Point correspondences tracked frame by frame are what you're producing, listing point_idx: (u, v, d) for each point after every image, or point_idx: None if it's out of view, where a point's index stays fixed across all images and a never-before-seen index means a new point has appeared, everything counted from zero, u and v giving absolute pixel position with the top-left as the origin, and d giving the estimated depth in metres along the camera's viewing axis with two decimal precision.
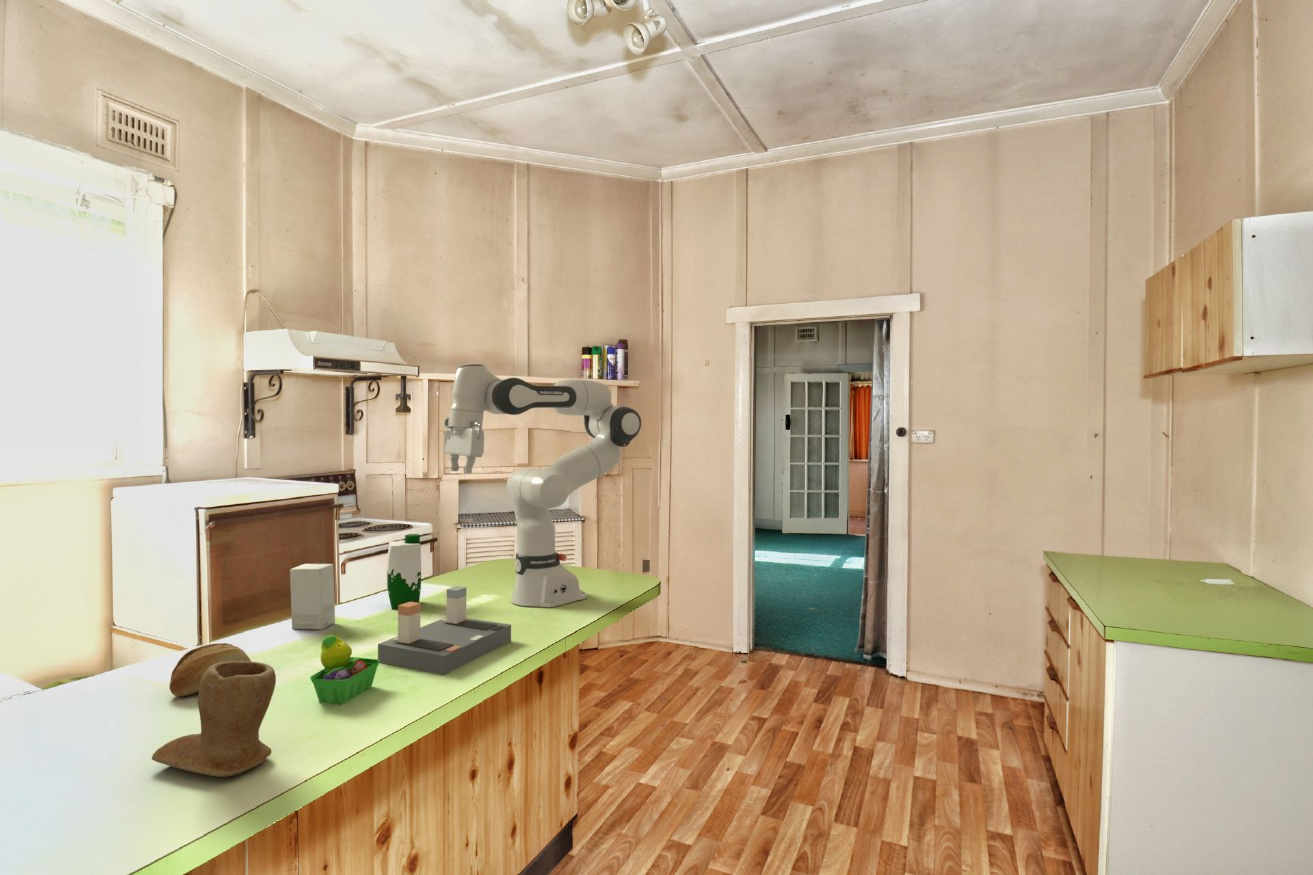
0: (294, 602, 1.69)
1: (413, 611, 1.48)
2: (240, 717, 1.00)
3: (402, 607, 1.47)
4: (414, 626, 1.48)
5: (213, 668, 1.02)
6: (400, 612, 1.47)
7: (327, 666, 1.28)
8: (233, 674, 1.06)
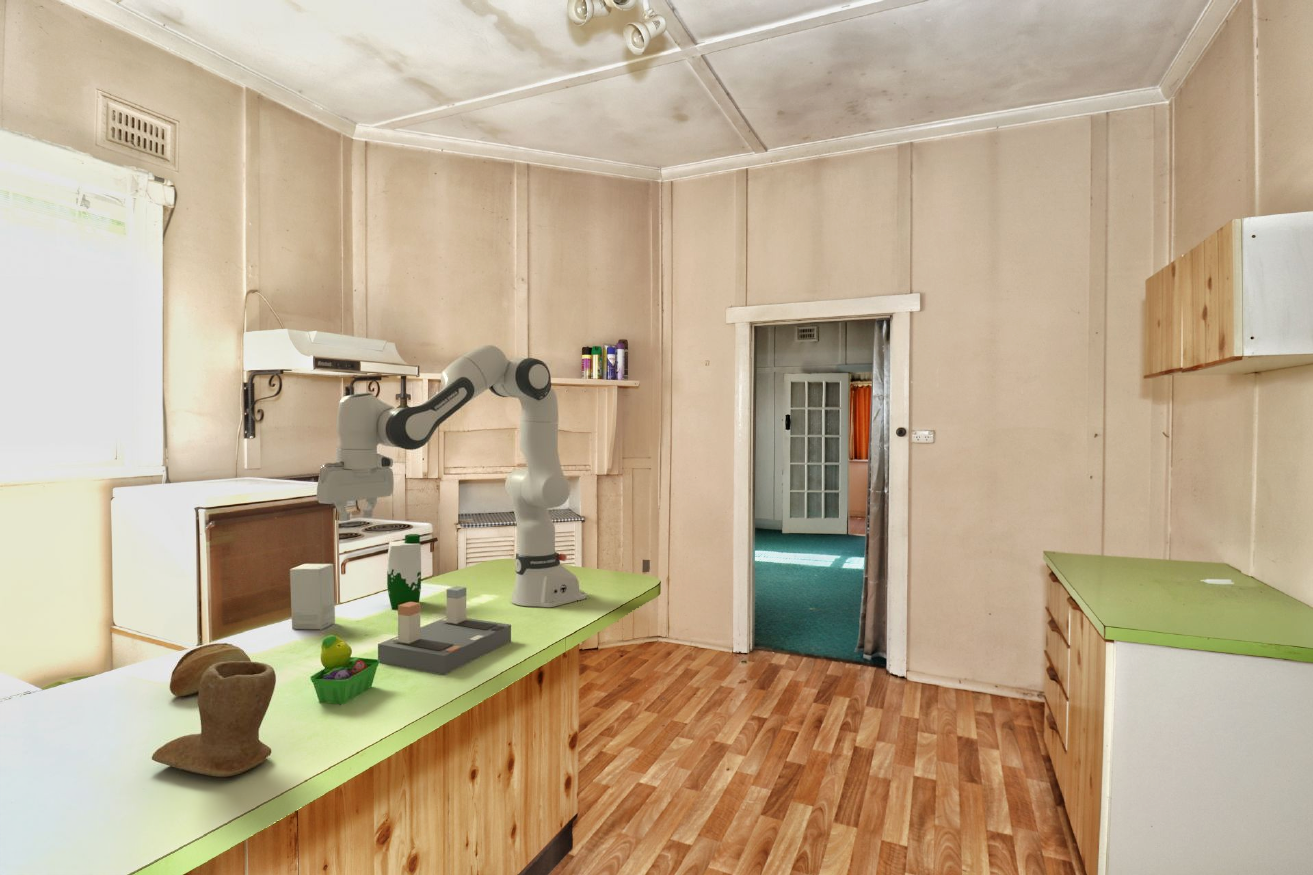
0: (294, 602, 1.69)
1: (413, 611, 1.48)
2: (240, 717, 1.00)
3: (402, 607, 1.47)
4: (414, 626, 1.48)
5: (213, 668, 1.02)
6: (400, 612, 1.47)
7: (327, 666, 1.28)
8: (233, 674, 1.06)
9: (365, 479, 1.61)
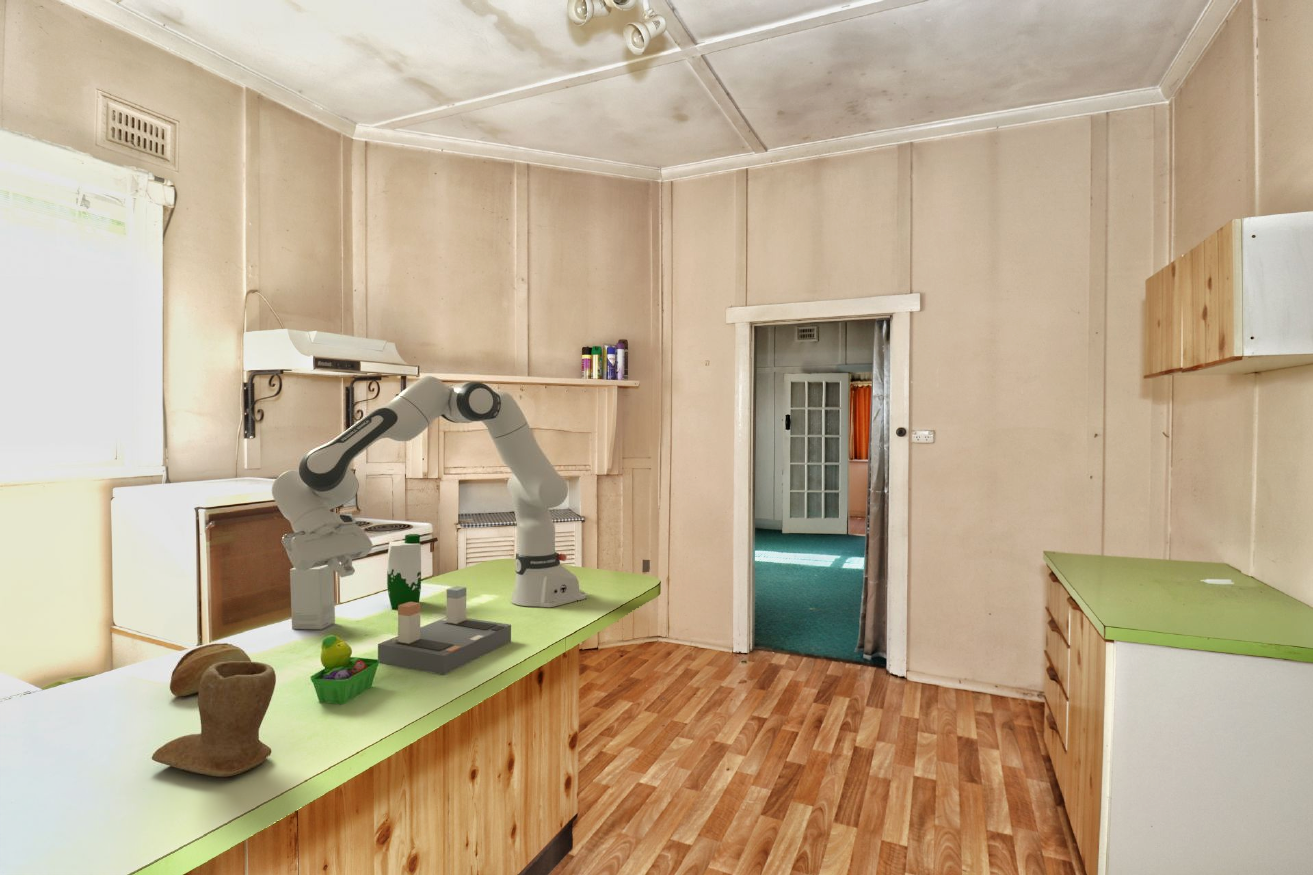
0: (294, 602, 1.69)
1: (413, 611, 1.48)
2: (240, 717, 1.00)
3: (402, 607, 1.47)
4: (414, 626, 1.48)
5: (213, 668, 1.02)
6: (400, 612, 1.47)
7: (327, 666, 1.28)
8: (233, 674, 1.06)
9: (335, 538, 1.58)
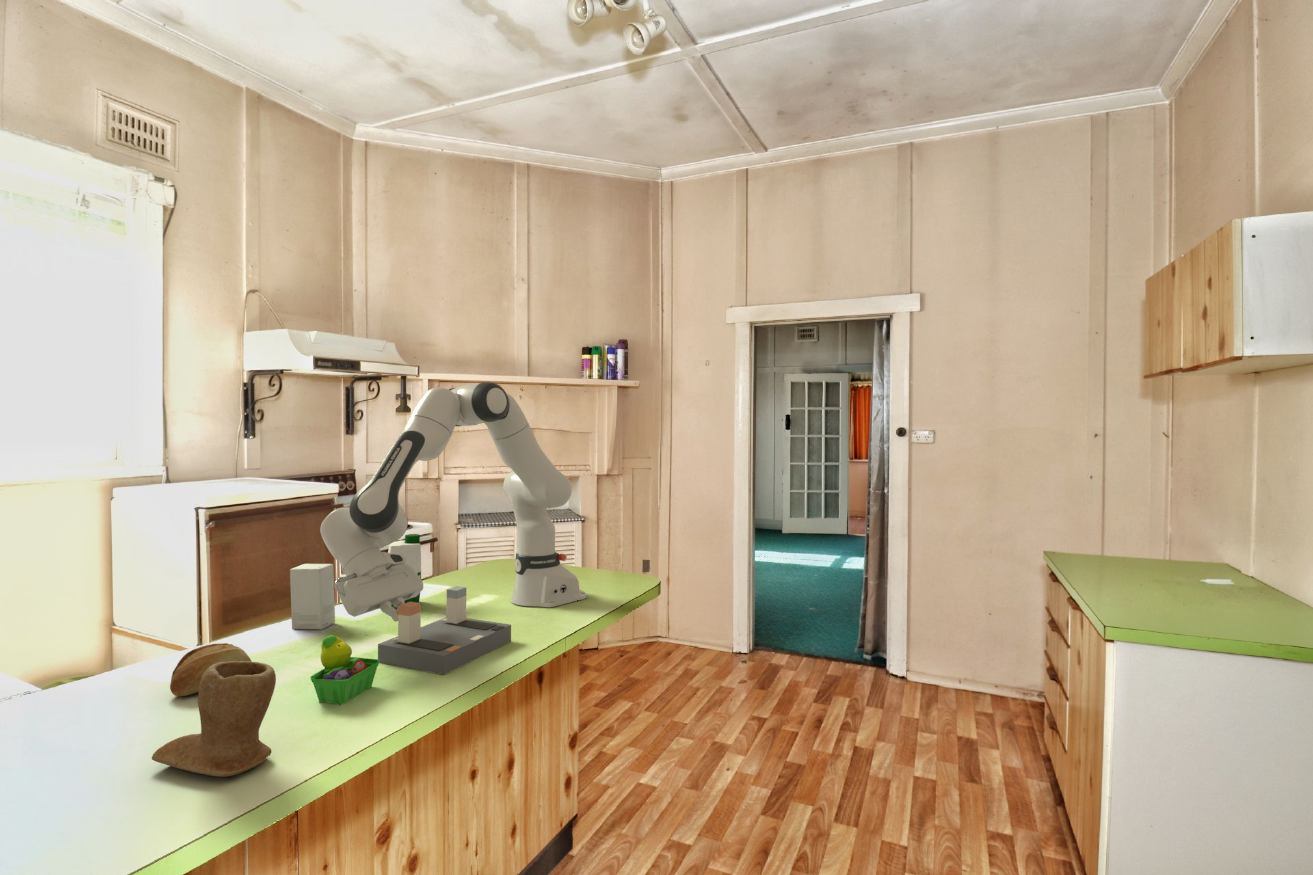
0: (294, 602, 1.69)
1: (414, 611, 1.48)
2: (240, 717, 1.00)
3: (402, 607, 1.47)
4: (414, 626, 1.48)
5: (213, 668, 1.02)
6: (400, 612, 1.47)
7: (327, 666, 1.28)
8: (233, 674, 1.06)
9: (387, 580, 1.53)
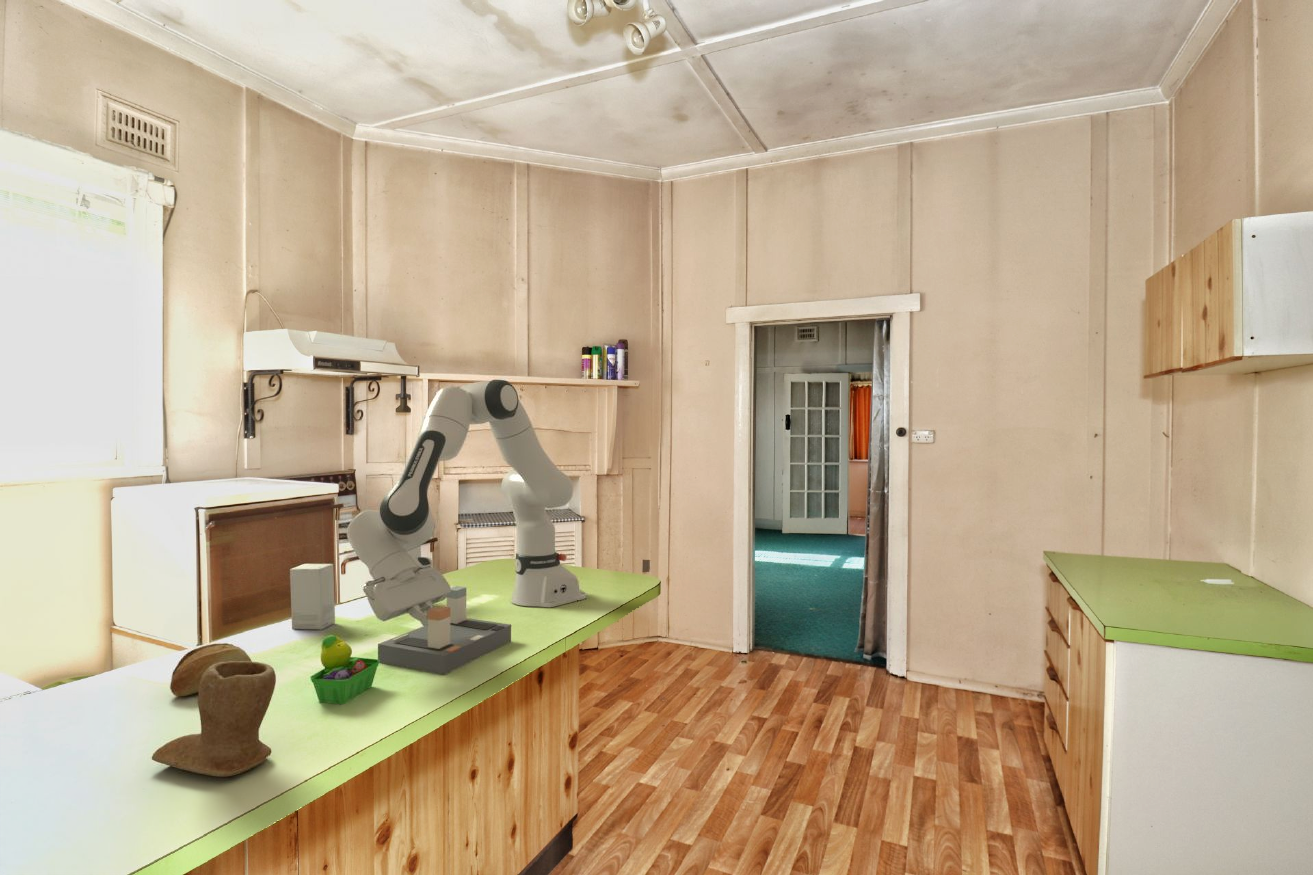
0: (294, 602, 1.69)
1: (444, 615, 1.45)
2: (240, 717, 1.00)
3: (432, 611, 1.44)
4: (444, 631, 1.45)
5: (213, 668, 1.02)
6: (430, 616, 1.44)
7: (327, 666, 1.28)
8: (233, 674, 1.06)
9: (415, 583, 1.49)
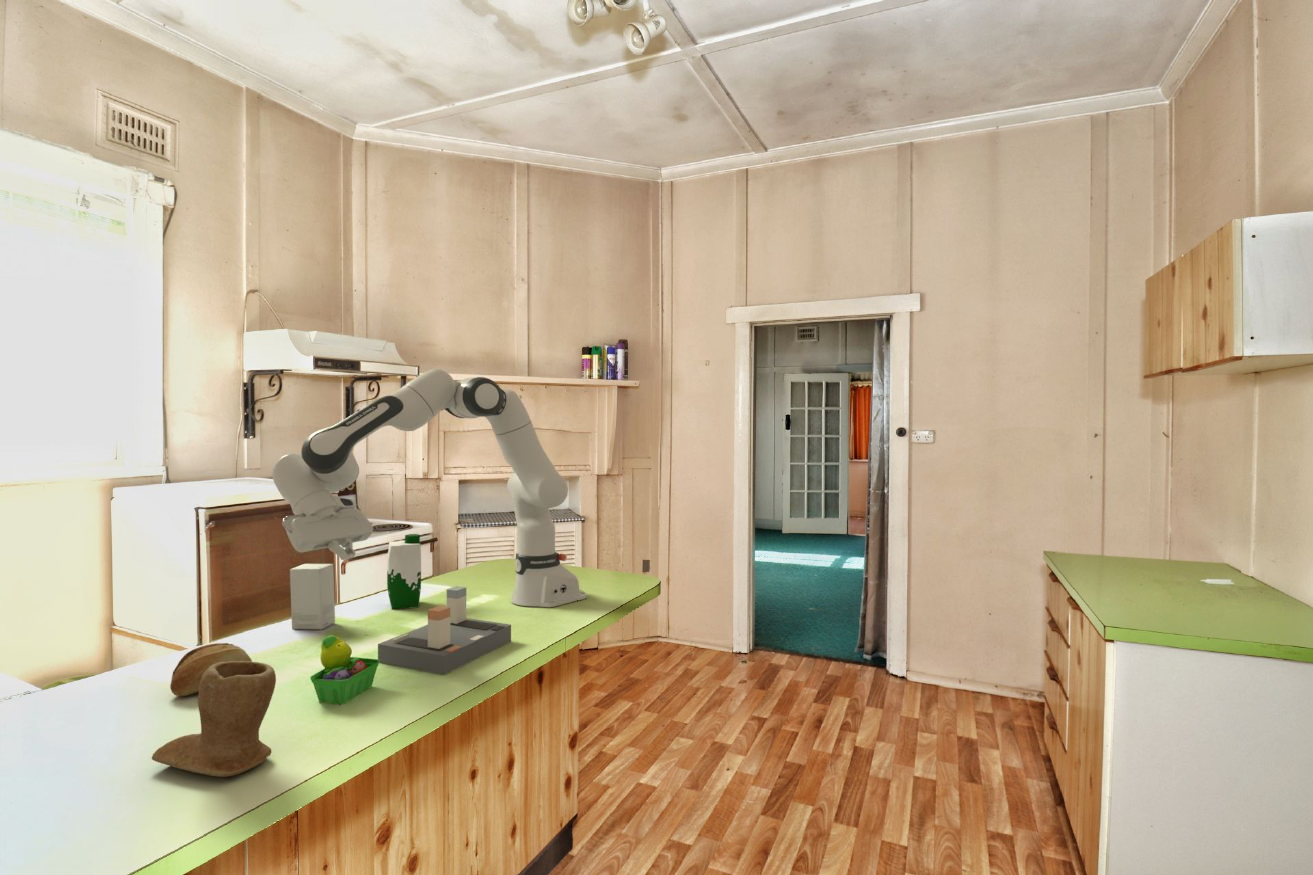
0: (294, 602, 1.69)
1: (444, 615, 1.45)
2: (240, 717, 1.00)
3: (432, 611, 1.44)
4: (444, 631, 1.45)
5: (213, 668, 1.02)
6: (430, 616, 1.44)
7: (327, 666, 1.28)
8: (233, 674, 1.06)
9: (335, 521, 1.58)
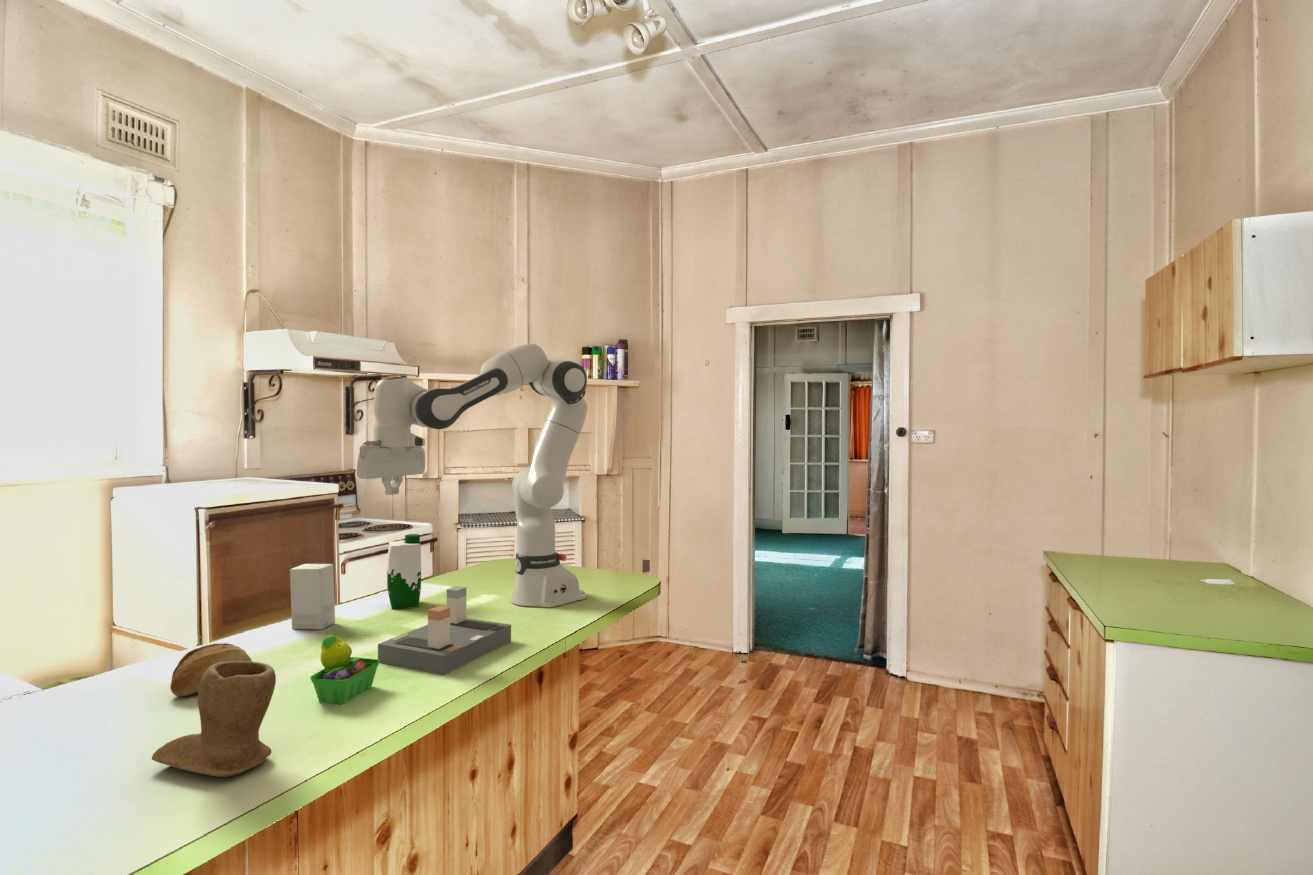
0: (294, 602, 1.69)
1: (444, 615, 1.45)
2: (240, 717, 1.00)
3: (432, 611, 1.44)
4: (444, 631, 1.45)
5: (213, 668, 1.02)
6: (430, 616, 1.44)
7: (327, 666, 1.28)
8: (233, 674, 1.06)
9: (400, 457, 1.72)
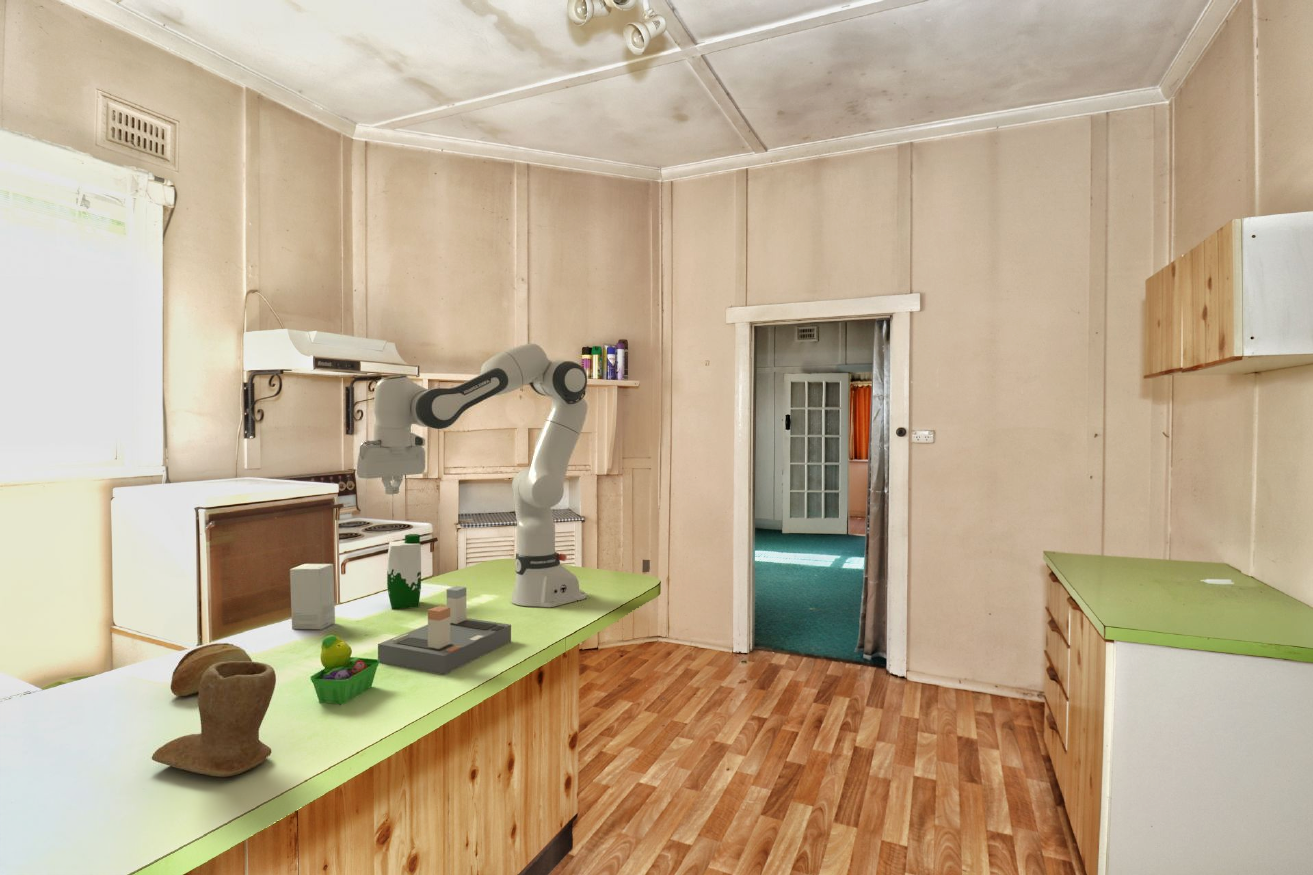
0: (294, 602, 1.69)
1: (444, 615, 1.45)
2: (240, 717, 1.00)
3: (432, 611, 1.44)
4: (444, 631, 1.45)
5: (213, 668, 1.02)
6: (430, 616, 1.44)
7: (327, 666, 1.28)
8: (233, 674, 1.06)
9: (400, 457, 1.72)
